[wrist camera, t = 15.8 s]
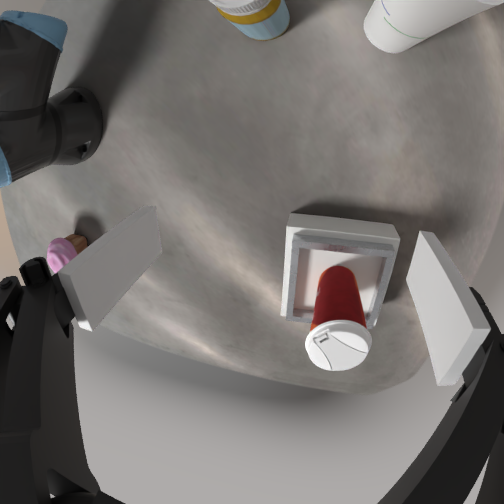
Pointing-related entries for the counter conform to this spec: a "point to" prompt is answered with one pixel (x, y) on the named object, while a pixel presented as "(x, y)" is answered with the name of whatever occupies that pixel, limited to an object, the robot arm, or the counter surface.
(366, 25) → the cylindrical container
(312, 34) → the counter surface
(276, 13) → the bottle
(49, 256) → the cupcake
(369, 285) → the square tray
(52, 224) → the counter surface
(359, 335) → the paper cup
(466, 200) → the counter surface
